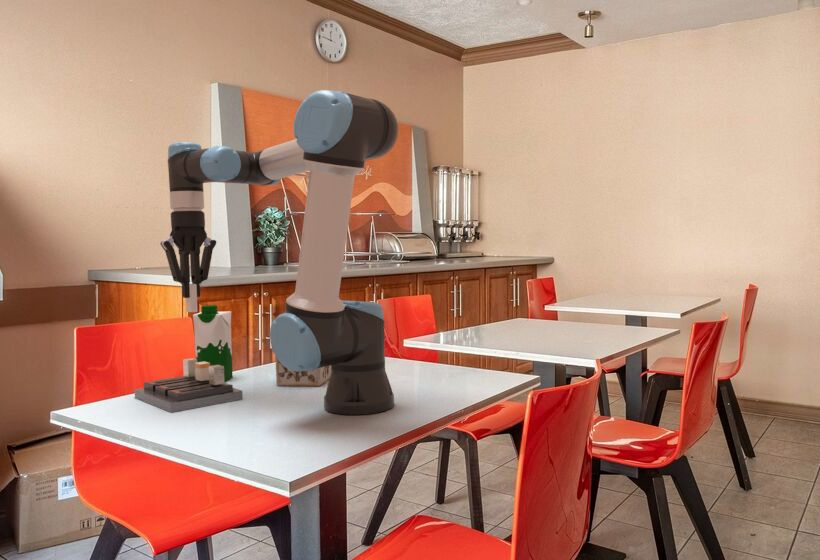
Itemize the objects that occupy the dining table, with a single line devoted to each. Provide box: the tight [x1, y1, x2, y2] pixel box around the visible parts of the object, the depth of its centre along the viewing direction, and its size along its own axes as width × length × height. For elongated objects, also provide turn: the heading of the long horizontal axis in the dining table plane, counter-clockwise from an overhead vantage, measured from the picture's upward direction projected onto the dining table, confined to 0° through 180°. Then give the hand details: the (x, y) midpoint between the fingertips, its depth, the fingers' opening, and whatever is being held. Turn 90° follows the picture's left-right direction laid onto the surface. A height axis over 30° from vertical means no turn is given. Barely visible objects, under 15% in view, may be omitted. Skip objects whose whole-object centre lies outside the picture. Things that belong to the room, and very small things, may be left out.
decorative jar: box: [275, 356, 331, 387], centre depth 179 cm, size 12×12×18 cm
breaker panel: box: [133, 357, 243, 413], centre depth 163 cm, size 21×17×8 cm
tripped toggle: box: [195, 361, 210, 381], centre depth 166 cm, size 3×2×4 cm
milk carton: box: [192, 304, 233, 383], centre depth 184 cm, size 9×9×20 cm
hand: (192, 311), depth 163 cm, fingers closed
